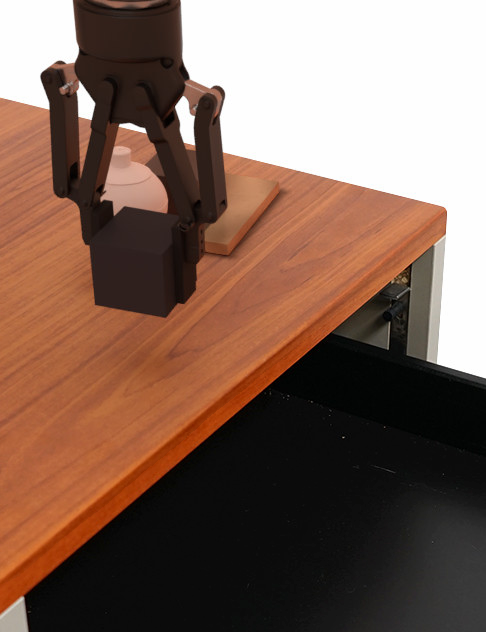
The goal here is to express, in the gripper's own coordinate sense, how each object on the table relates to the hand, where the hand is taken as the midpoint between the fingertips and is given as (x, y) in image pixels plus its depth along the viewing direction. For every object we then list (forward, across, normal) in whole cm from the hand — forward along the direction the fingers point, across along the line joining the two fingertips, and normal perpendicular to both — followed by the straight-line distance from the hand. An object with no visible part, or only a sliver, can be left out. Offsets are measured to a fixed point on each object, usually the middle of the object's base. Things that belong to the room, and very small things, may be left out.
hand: (146, 288), depth 113 cm
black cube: (0, 0, 0) cm, 0 cm away
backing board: (+7, +7, -29) cm, 30 cm away
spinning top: (+7, +8, -14) cm, 17 cm away
